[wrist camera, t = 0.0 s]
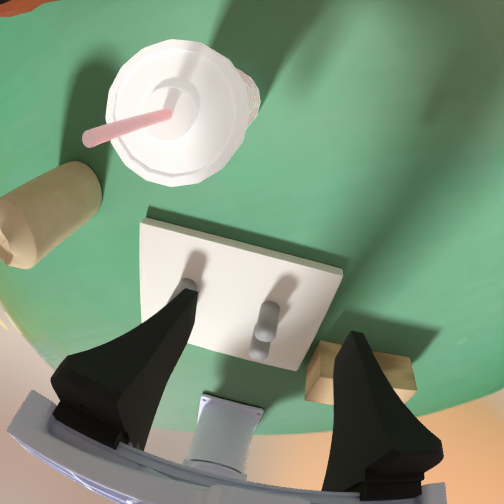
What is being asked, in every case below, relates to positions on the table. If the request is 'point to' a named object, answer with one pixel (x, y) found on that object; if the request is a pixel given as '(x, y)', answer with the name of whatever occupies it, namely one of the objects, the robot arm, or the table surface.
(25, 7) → the potted plant
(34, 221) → the candle
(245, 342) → the peg base
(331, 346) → the tan rectangular block
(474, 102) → the table surface
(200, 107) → the beverage cup
